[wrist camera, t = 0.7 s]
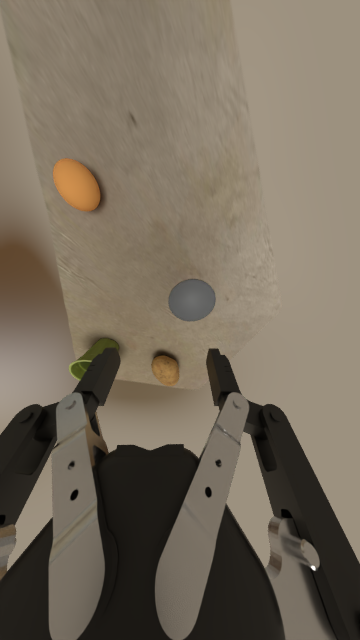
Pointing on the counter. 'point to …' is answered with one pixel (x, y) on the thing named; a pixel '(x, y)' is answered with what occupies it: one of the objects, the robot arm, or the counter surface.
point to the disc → (191, 300)
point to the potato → (165, 370)
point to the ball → (76, 184)
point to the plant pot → (90, 357)
